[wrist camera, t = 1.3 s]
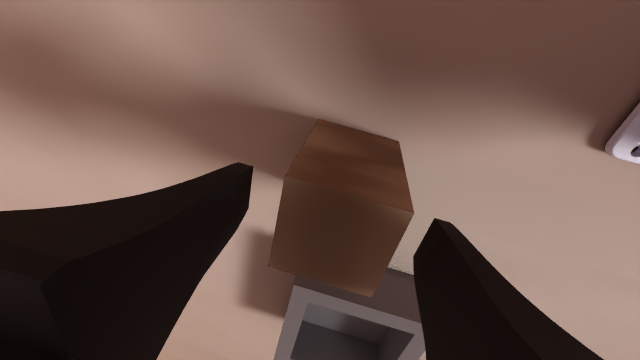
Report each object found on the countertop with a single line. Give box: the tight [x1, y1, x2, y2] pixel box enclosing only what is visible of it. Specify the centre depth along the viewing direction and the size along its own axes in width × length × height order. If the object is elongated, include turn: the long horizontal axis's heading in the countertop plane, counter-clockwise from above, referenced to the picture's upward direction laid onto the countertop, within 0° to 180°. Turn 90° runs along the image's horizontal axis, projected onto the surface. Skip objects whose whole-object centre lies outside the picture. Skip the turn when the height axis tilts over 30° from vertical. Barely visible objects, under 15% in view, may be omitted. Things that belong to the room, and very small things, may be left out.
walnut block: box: [268, 119, 414, 298], centre depth 12 cm, size 4×4×6 cm
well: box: [274, 268, 425, 360], centre depth 18 cm, size 8×8×3 cm
